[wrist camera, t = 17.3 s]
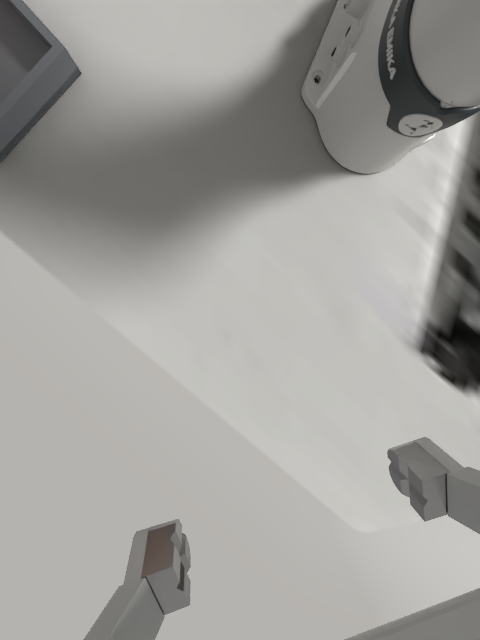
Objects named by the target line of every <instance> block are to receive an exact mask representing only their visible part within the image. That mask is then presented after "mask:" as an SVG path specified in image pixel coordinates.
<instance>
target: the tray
mask: <svg viewBox="0 0 480 640" xmlns="http://www.w3.org/2000/svg"><path fill="white" fill-rule="evenodd" d="M80 75H81V72H80V70H79V68H78V67H77V65H76V64H75V62H74V61H73V59H72V58H71V56H70V54H69V53H68V51H67V50H66V48H65V47H64V46H63V45H62V44H61V43H60V42H59V40H58V39H57V38H56V37H55V36H54V35H53V34H52V33H51V32H50V30H49V29H48V28H47V27H46V26H45V25H44V24H43V23H42V22H41V21H40V19H39V18H38V17H37V16H36V15H35V14H34V13H33V12H32V11H31V10H30V8H29V7H28V6H27V5H26V4H25V3H24V2H23V1H22V0H0V162H1V161H2V160H3V158H4V157H5V156H6V155H7V154H8V153H9V152H10V151H11V150H12V149H13V148H14V146H15V145H16V144H17V143H18V142H19V141H20V140H21V139H22V138H23V137H24V136H25V134H26V133H27V132H28V131H29V130H30V129H31V128H32V127H33V126H34V125H35V124H36V123H37V121H38V120H39V119H40V118H41V117H42V116H43V115H44V114H45V113H46V112H47V111H48V109H49V108H50V107H51V106H52V105H53V104H54V103H55V102H56V101H57V100H58V99H59V97H60V96H61V95H62V94H63V93H64V92H65V91H66V90H67V89H68V88H69V87H70V85H71V84H72V83H73V82H74V81H75V80H76V79H77V78H78V77H79V76H80Z"/></svg>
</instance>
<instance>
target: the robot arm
mask: <svg viewBox="0 0 480 640" xmlns="http://www.w3.org/2000/svg"><path fill="white" fill-rule="evenodd" d="M314 79H317V80H318V82H319V83H315V81H314ZM301 94H302V98H303V100H304V102H305V104H306V105H307V107H308V108H309V109H310V111H311V112H312V113H313V115H314V116H315V119H316V122H317V125H318V129H319V132H320V136H321V138H322V141H323V143H324V145H325V147H326V149H327V150H328V152H329V153H330V155H331V156H332V157H333V158H334V159H335V160H336V161H337V162H338V163H339V164H341V165H342V166H343V167H345V168H347V169H349V170H351V171H354V172H358V173H364V174H370V173H377V172H381V171H384V170H386V169H388V168H390V167H391V166H393V165H395V164H396V163H397V162H398V161H399V160H401V159H402V158H403V157H404V156H405V155H406V154H407V153H409V152H410V151H411V150H413V149H414V148H415V147H418V146H420V145H422V144H425V143H426V142H428V141H429V140H431V139H432V138H434V137H435V135H436V134H437V132H438V131H440V130H442V129H445V128H448V127H450V126H452V125H454V124H456V123H458V122H460V121H462V120H464V119H466V118H468V117H470V116H471V115H473V114H475V113H478V112H480V0H338V1H337V4H336V6H335V9H334V11H333V13H332V16H331V18H330V21H329V23H328V26H327V28H326V30H325V33H324V35H323V38H322V40H321V43H320V45H319V47H318V50H317V52H316V55H315V57H314V60H313V62H312V64H311V67H310V69H309V72H308V74H307V77H306V79H305V81H304V84H303V86H302V90H301ZM387 453H388V458H389V459H390V460H391V464H390V466H389V471H390V475H391V478H392V480H393V482H394V484H395V486H396V487H397V489H398V490H399V491H400V492H401V493H402V494H403V495H405V496H408V497H410V504H411V506H412V507H413V508H414V509H415V510H416V512H417V513H418V514H419V515H420V516H421V518H422V519H423V520H424V521H428V520H431V519H434V518H438V517H441V516H444V515H447V514H448V516H449V517H451V518H453V519H454V520H456V521H458V522H460V523H461V524H463V525H465V526H467V527H469V528H470V529H472V530H473V531H475V532H477V533H479V534H480V471H479V470H476V469H473V468H470V467H465V468H464V467H463V466H461V465H460V464H459V463H458V462H457V461H455V460H454V459H453V458H452V457H450V456H449V455H448V454H447V453H446V452H444V451H443V450H442V449H441V448H440V447H438V446H437V445H436V444H435V443H433V442H432V441H431V440H430V439H429V438H426V437H423V438H420V439H417V440H414V441H411V442H408V443H405V444H402V445H399V446H396V447H393V448H390V449H388V452H387ZM189 568H190V548H189V543H188V540H187V537H186V535H185V534H183V533H182V525H181V523H180V520H179V519H176V520H173V521H169V522H167V523H163V524H159V525H156V526H153V527H150V528H147V529H143V530H140V531H137V532H136V533H135V535H134V537H133V542H132V547H131V552H130V556H129V561H128V566H127V571H126V575H125V580H124V585H122V586H119V587H118V589H117V590H116V592H115V593H114V595H113V596H112V598H111V599H110V601H109V602H108V604H107V605H106V607H105V608H104V610H103V611H102V613H101V614H100V616H99V617H98V619H97V620H96V622H95V623H94V625H93V627H92V628H91V629H90V631H89V632H88V634H87V635H86V637H85V638H84V640H155V638H156V636H157V634H158V631H159V629H160V626H161V624H162V622H163V620H164V615H166V614H169V613H171V612H174V611H176V610H179V609H181V608H184V607H186V606H189V605H190V579H189V577H188V575H187V572H188V570H189ZM345 640H480V588H479V589H476V590H473V591H470V592H468V593H465V594H463V595H460V596H458V597H455V598H452V599H450V600H447V601H444V602H442V603H439V604H437V605H434V606H431V607H429V608H426V609H423V610H421V611H419V612H416V613H413V614H410V615H408V616H405V617H403V618H400V619H397V620H395V621H392V622H389V623H387V624H385V625H382V626H379V627H377V628H374V629H371V630H369V631H366V632H363V633H361V634H358V635H356V636H353V637H351V638H348V639H345Z"/></svg>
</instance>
